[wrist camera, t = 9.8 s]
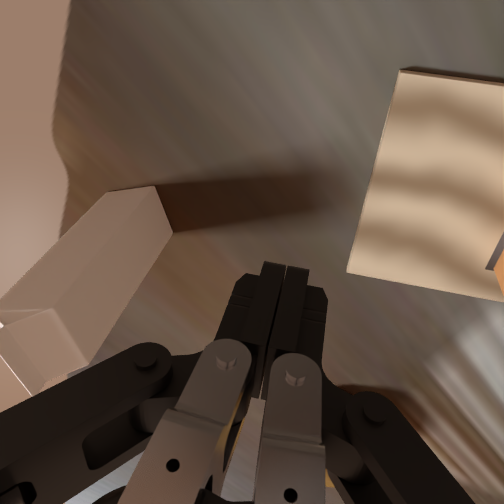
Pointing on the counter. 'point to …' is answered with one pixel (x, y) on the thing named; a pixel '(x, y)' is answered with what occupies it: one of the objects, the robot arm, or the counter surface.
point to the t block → (500, 271)
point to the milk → (81, 287)
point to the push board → (437, 188)
